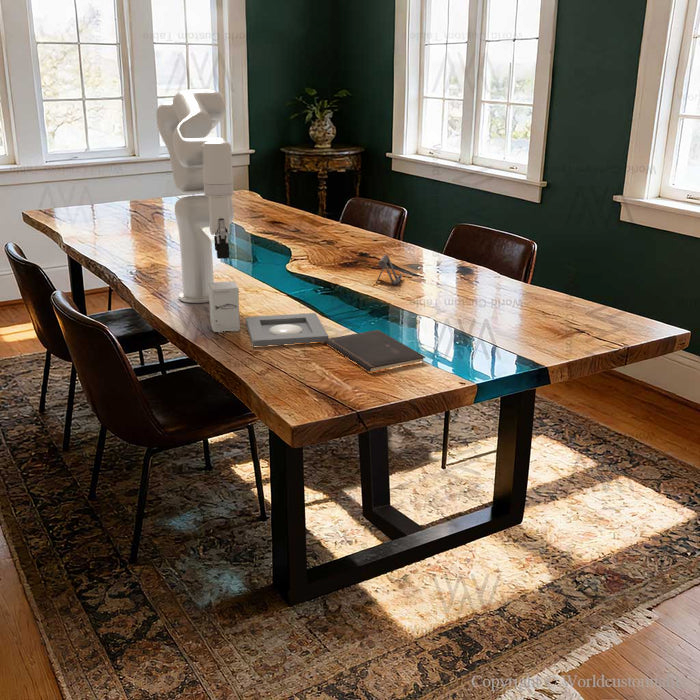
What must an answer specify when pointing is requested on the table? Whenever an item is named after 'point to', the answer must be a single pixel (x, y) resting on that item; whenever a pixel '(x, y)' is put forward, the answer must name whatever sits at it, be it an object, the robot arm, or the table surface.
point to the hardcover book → (374, 350)
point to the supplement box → (224, 306)
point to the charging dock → (285, 329)
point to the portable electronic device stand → (383, 264)
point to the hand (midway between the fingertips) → (222, 254)
